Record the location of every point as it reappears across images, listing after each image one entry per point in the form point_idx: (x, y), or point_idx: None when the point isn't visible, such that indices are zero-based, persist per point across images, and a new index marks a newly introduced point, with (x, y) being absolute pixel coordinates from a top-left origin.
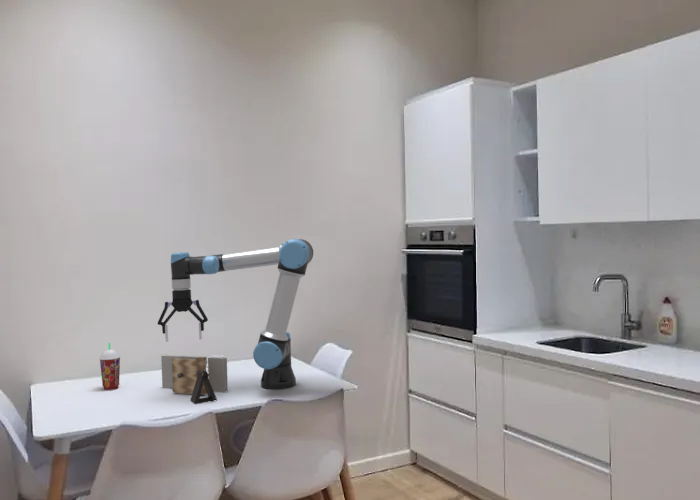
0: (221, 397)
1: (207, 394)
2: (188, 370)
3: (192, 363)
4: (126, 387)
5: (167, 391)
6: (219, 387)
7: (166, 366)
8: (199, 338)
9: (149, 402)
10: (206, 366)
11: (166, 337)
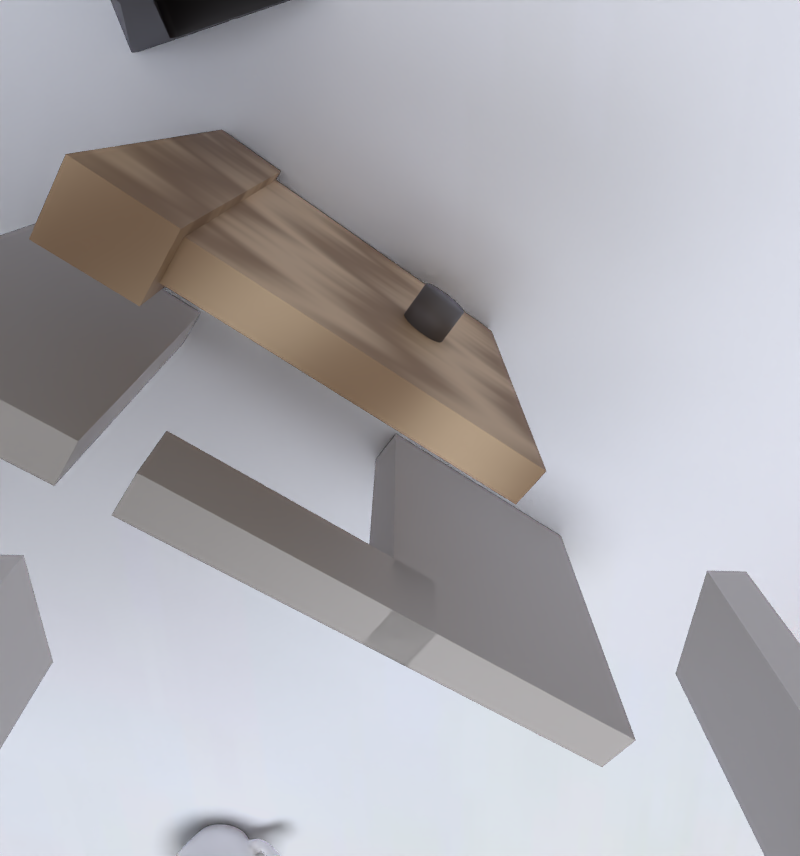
0: (45, 14)
1: (165, 27)
2: (337, 285)
3: (267, 271)
4: (793, 618)
5: (530, 416)
6: None
7: (563, 632)
8: (12, 569)
9: (703, 69)
10: (274, 853)
11: (772, 641)
